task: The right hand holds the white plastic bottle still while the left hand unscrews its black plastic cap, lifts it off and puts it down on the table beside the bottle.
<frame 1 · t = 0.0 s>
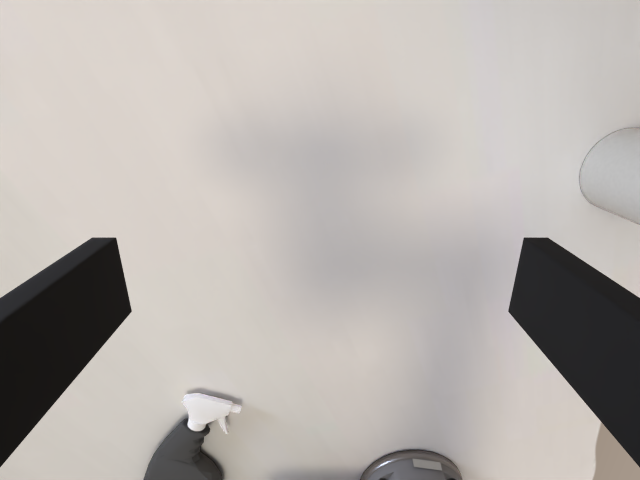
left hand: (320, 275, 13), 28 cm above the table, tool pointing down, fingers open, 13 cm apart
spray bottle: (193, 453, 54), on the table
bottle: (621, 169, 39), on the table
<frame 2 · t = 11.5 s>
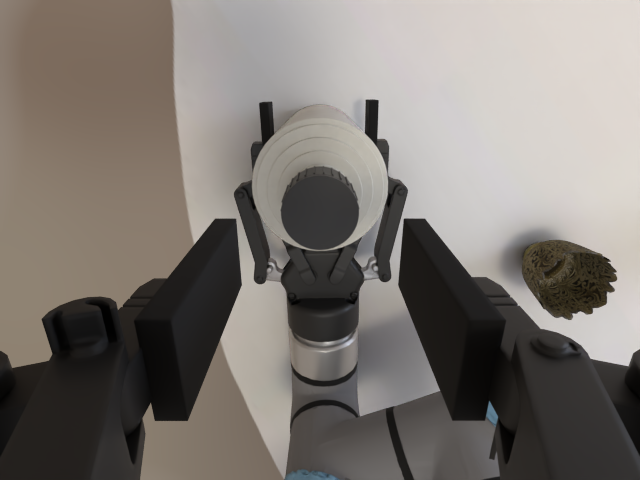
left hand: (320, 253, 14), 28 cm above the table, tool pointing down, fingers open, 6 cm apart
right hand: (318, 101, 33), fingers closed on bottle, 8 cm apart
cup: (535, 253, 45), on the table
cap: (319, 212, 19), point 23 cm above the table, screwed on, not yet turned
bottle: (319, 146, 40), on the table, touching right hand
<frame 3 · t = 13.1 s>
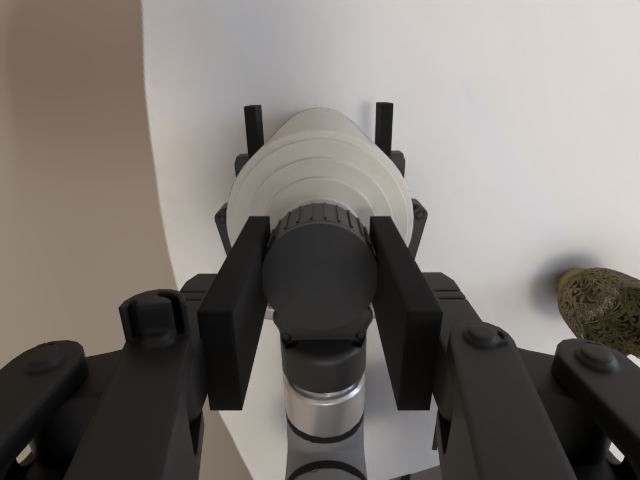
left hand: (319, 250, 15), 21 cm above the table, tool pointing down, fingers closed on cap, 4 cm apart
cup: (570, 281, 39), on the table
cap: (319, 275, 13), point 23 cm above the table, screwed on, not yet turned, touching left hand
bottle: (319, 157, 34), on the table, touching right hand
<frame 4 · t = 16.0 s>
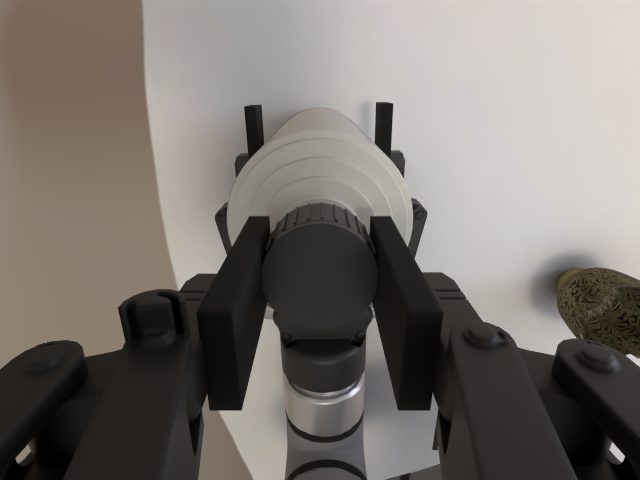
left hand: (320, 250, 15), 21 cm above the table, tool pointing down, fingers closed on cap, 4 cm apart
cup: (569, 280, 39), on the table
cap: (319, 275, 13), point 23 cm above the table, turned 83° so far, risen 0.1 cm, still on its thread, touching left hand
bottle: (319, 157, 34), on the table, touching right hand
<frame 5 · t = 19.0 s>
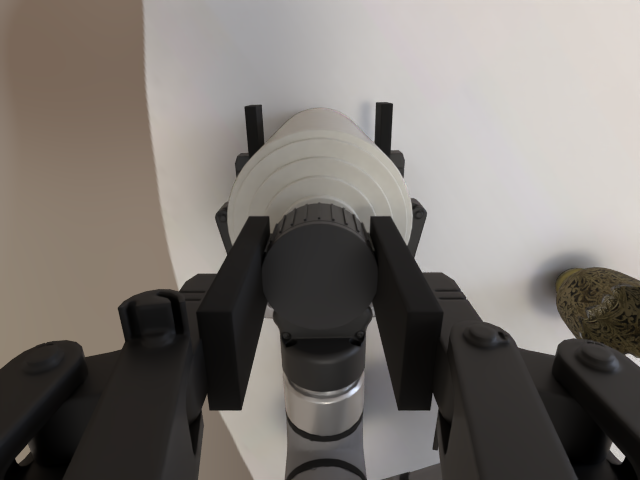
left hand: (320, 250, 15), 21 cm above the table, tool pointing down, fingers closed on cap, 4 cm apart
cup: (569, 280, 39), on the table
cap: (319, 275, 13), point 23 cm above the table, turned 166° so far, risen 0.2 cm, still on its thread, touching left hand
bottle: (319, 157, 34), on the table, touching right hand
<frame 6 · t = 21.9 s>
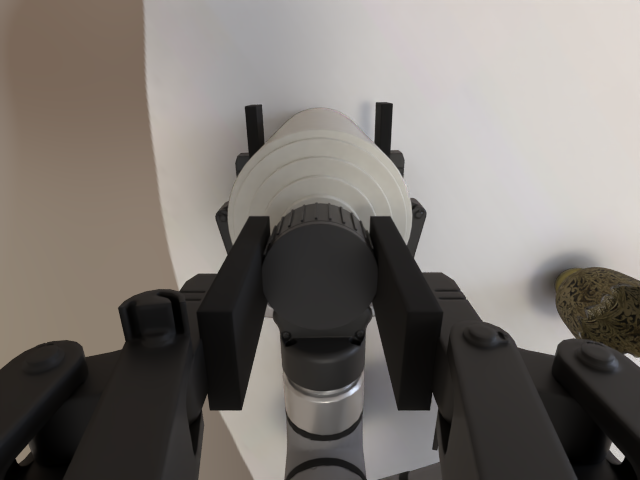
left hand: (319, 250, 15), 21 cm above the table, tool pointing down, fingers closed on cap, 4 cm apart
cup: (568, 280, 39), on the table
cap: (319, 275, 13), point 23 cm above the table, turned 249° so far, risen 0.3 cm, still on its thread, touching left hand
bottle: (319, 157, 34), on the table, touching right hand
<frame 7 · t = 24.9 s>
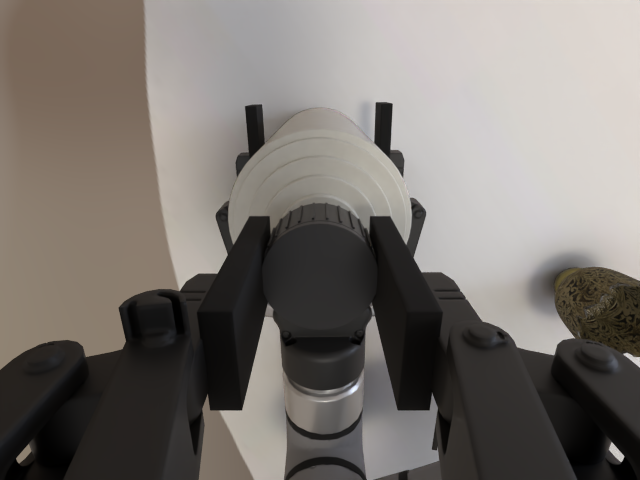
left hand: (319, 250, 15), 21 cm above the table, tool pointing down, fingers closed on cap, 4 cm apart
cup: (567, 280, 39), on the table
cap: (319, 275, 13), point 23 cm above the table, turned 332° so far, risen 0.3 cm, still on its thread, touching left hand
bottle: (319, 156, 34), on the table, touching right hand
when the left hand's fingers open (1 cm above the table, at t = 34.7 s): cap stays where it is, point 2 cm above the table.
when the right hand's fingers open (6 cm above the table, at t = 36.1 s): bottle stays where it is, on the table.
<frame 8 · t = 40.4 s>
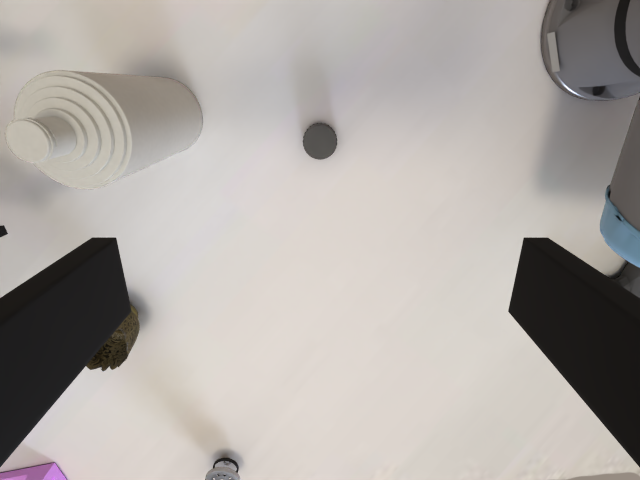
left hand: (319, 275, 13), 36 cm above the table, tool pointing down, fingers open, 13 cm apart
cup: (127, 311, 54), on the table
spray bottle: (627, 275, 52), on the table
cap: (320, 142, 44), point 2 cm above the table, off its thread
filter: (227, 460, 65), on the table
bottle: (166, 116, 45), on the table
bracket: (29, 479, 67), on the table
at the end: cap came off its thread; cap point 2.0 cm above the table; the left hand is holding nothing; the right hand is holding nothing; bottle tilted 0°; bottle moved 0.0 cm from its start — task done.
